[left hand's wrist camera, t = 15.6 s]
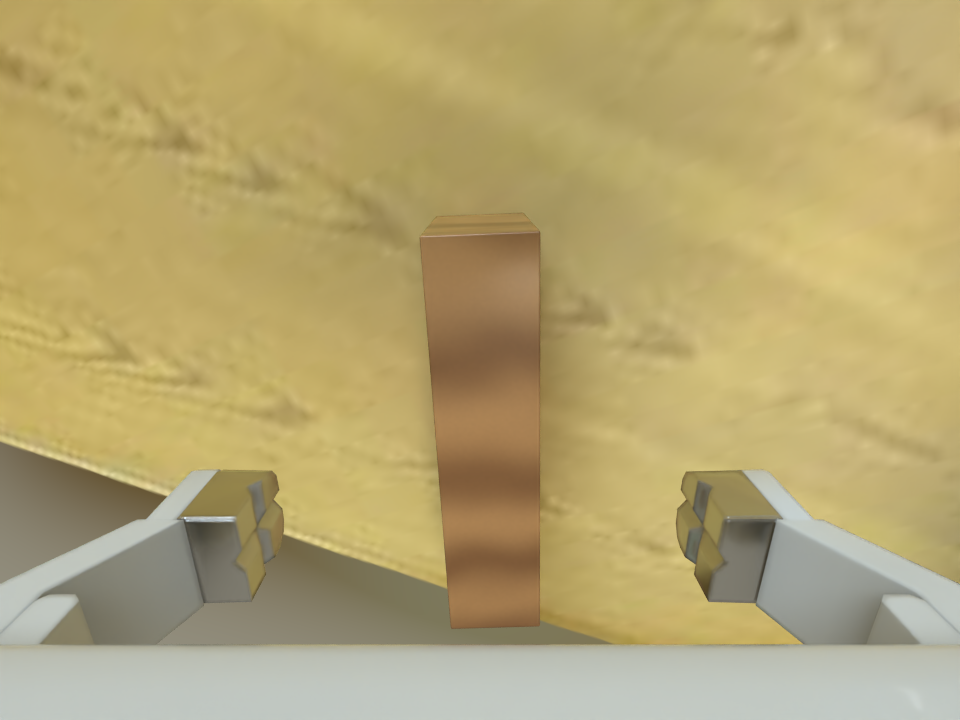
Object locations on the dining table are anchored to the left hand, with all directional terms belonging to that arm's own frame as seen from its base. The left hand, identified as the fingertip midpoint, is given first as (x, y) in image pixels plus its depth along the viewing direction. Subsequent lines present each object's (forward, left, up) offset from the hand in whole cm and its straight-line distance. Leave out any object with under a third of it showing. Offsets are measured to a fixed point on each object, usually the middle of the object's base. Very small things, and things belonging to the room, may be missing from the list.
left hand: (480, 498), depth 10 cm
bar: (+9, -1, -25) cm, 27 cm away
